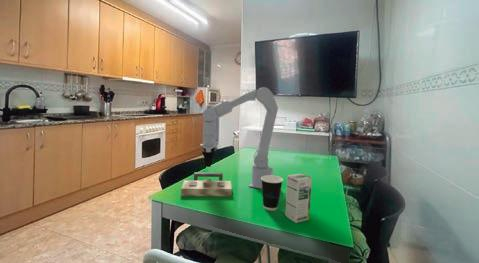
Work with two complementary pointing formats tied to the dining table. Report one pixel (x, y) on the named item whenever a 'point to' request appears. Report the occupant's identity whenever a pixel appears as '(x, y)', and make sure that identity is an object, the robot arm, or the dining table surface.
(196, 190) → the display stand
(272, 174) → the robot arm
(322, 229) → the dining table surface
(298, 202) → the syrup box
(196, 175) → the grey long bar
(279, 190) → the dixie cup
